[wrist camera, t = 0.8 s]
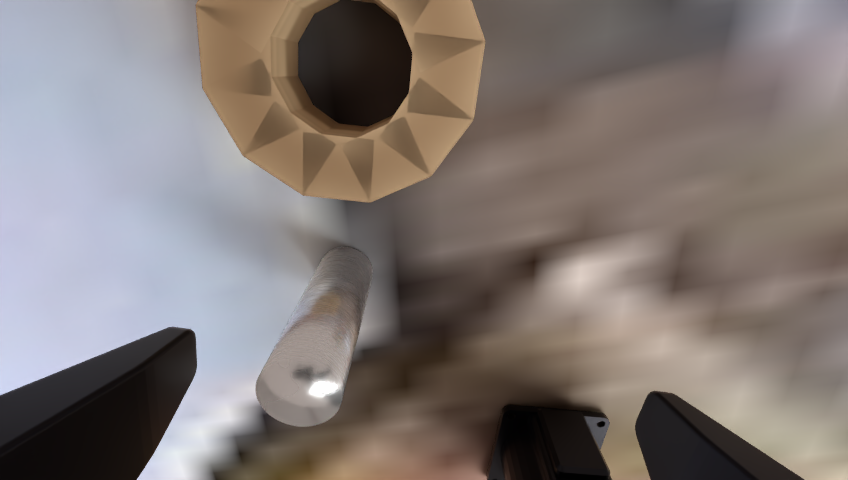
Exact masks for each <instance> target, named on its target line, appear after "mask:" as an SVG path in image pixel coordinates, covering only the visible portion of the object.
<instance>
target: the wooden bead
mask: <svg viewBox="0 0 848 480" xmlns="http://www.w3.org/2000/svg"><path fill="white" fill-rule="evenodd" d="M338 1H340V0H198V1H197V4H196V15H197V27H198V39H199V51H200V63H201V76H202V88H203V90H204V92H205V93H206V95H207V97H208V98H209V100H210V102H211V103H212V105H213V107H214V108H215V110H216V112H217V113H218V115H219V117H220V118H221V120H222V122H223V123H224V125H225V127H226V128H227V130H228V132H229V133H230V135H231V137H232V138H233V140H234V142H235V143H236V145H237V147H238V148H239V150H240V152H241V153H242V155H243V156H244V157H246V158H247V159H249V160H250V161H252V162H253V163H255V164H256V165H258V166H259V167H261V168H262V169H264V170H265V171H267V172H268V173H270V174H271V175H273V176H274V177H276V178H277V179H279V180H280V181H282V182H283V183H285V184H287V185H288V186H290V187H291V188H293V189H294V190H296V191H297V192H299V193H300V194H302V195H303V196H313V197H322V198H332V199H341V200H351V201H360V202H369V203H370V202H372V201H375V200H377V199H379V198H382V197H384V196H386V195H389V194H391V193H393V192H396V191H398V190H400V189H403V188H405V187H407V186H410V185H412V184H414V183H417V182H419V181H421V180H424V179H426V178H428V177H431V175H432V174H433V173H434V172H435V170H436V169H437V168H438V166H439V165H440V164H441V162H442V161H443V160H444V158H445V157H446V156H447V154H448V153H449V152H450V150H451V149H452V148H453V146H454V145H455V144H456V142H457V141H458V140H459V138H460V137H461V136H462V134H463V133H464V132H465V130H466V129H467V128H468V126H469V125H470V124H471V122H472V121H473V120H474V113H475V107H476V100H477V93H478V87H479V80H480V73H481V67H482V60H483V54H484V47H485V39H484V36H483V33H482V30H481V27H480V24H479V21H478V19H477V16H476V13H475V10H474V7H473V4H472V1H471V0H353V1H361V2H368V3H375V4H377V5H378V6H379V7H380V8H381V9H383V10H384V11H385V12H386V13H388V14H389V15H390V16H391V17H393V18H394V19H395V20H396V21H397V22H399V23H400V24H401V26H402V29H403V31H404V33H405V36H406V38H407V41H408V43H409V46H410V48H411V51H412V53H413V55H412V66H411V76H410V87H409V94H408V95H407V97H406V98H405V99H404V101H403V102H402V104H401V105H400V107H399V108H398V110H397V111H396V113H395V114H394V115H392V116H390V117H388V118H386V119H383V120H381V121H379V122H377V123H375V124H373V125H370V126H368V127H366V126H357V125H348V124H339V123H337V122H336V121H334V120H333V119H332V118H330V117H329V116H327V115H326V114H325V113H323V112H322V111H320V110H319V109H318V108H316V107H315V106H314V105H313V104H312V102H311V100H310V98H309V96H308V94H307V92H306V90H305V88H304V86H303V84H302V83H301V81H300V79H299V77H298V42H299V40H300V38H301V36H302V35H303V33H304V31H305V29H306V28H307V26H308V24H309V22H310V20H311V19H312V17H313V15H314V14H315V13H317V12H319V11H321V10H323V9H325V8H327V7H329V6H330V5H332V4H334V3H336V2H338Z"/></svg>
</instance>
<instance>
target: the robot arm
mask: <svg viewBox="0 0 848 480" xmlns="http://www.w3.org/2000/svg"><path fill="white" fill-rule="evenodd" d="M196 368H197V356H196V337H195V333H194V331H192V330H191V329H186V328H178V327H169V328H166V329H163V330H161V331H158V332H156V333H154V334H151V335H149V336H146V337H144V338H141V339H139V340H136V341H134V342H131V343H129V344H126V345H124V346H121V347H119V348H116V349H114V350H111V351H109V352H107V353H104V354H102V355H99V356H97V357H94V358H92V359H89V360H87V361H84V362H82V363H79V364H77V365H74V366H72V367H69V368H67V369H64V370H62V371H59V372H57V373H55V374H52V375H50V376H47V377H45V378H42V379H40V380H37V381H35V382H32V383H30V384H27V385H25V386H22V387H20V388H17V389H15V390H12V391H10V392H8V393H5V394H3V395H0V480H137V478H138V477H139V475H140V474H141V472H142V471H143V469H144V468H145V466H146V465H147V463H148V461H149V460H150V458H151V457H152V455H153V454H154V452H155V450H156V448H157V446H158V445H159V443H160V441H161V439H162V437H163V435H164V433H165V432H166V430H167V428H168V426H169V424H170V422H171V420H172V418H173V416H174V414H175V413H176V411H177V409H178V407H179V405H180V403H181V401H182V399H183V397H184V395H185V393H186V392H187V390H188V388H189V386H190V384H191V382H192V380H193V378H194V376H195V373H196ZM510 413H513V414H511V415H508V414H510ZM599 421H601V422H599ZM609 423H610V422H609V420H608V418H607V416H606V415H605V414H604V413H597V412H586V411H574V410H563V409H551V408H539V407H528V406H516V405H508V406H505V407H504V408H503V409H502V412H501V416H500V420H499V424H498V429H497V433H496V437H495V442H494V446H493V450H492V454H491V459H490V463H489V467H488V471H487V480H612V478H611V476H610V470H609V468H608V466H607V464H606V462H605V460H604V457H603V455H602V453H601V451H600V449H601V446H602V443H603V441H604V438H605V435H606V432H607V430H608V427H609ZM635 430H636V436H637V439H638V442H639V445H640V448H641V451H642V454H643V457H644V460H645V463H646V466H647V470H648V473H649V476H650V479H651V480H804V479H803V478H801V477H800V476H798V475H797V474H795V473H793V472H792V471H790V470H789V469H787V468H786V467H784V466H783V465H781V464H780V463H778V462H777V461H775V460H774V459H772V458H771V457H769V456H768V455H766V454H765V453H763V452H762V451H760V450H759V449H757V448H756V447H754V446H752V445H751V444H749V443H748V442H746V441H745V440H743V439H742V438H740V437H739V436H737V435H736V434H734V433H733V432H731V431H730V430H728V429H727V428H725V427H724V426H722V425H721V424H719V423H718V422H716V421H715V420H713V419H711V418H710V417H708V416H707V415H705V414H704V413H702V412H701V411H699V410H698V409H696V408H695V407H693V406H692V405H690V404H689V403H687V402H686V401H684V400H683V399H681V398H680V397H678V396H677V395H675V394H672V393H667V392H660V391H652V392H650V393H649V394H648V396H647V398H646V400H645V402H644V404H643V407H642V409H641V411H640V413H639V416H638V418H637V420H636V425H635Z"/></svg>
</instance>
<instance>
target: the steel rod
mask: <svg viewBox="0 0 848 480" xmlns="http://www.w3.org/2000/svg"><path fill="white" fill-rule="evenodd" d="M372 277H373V268H372V264H371V262H370V260H369V259H368V257H367V256H366V255H365V254H364V253H362V252H361V251H359V250H357V249H355V248H351V247H338V248H335V249H332V250H330V251H329V252H328V253H326V254H325V256H324V257H323V258H322V260H321V262H320V264H319V266H318V268H317V269H316V271H315V273H314V275H313V277H312V279H311V281H310V282H309V284H308V286H307V288H306V290H305V292H304V294H303V295H302V297H301V299H300V301H299V303H298V305H297V306H296V308H295V310H294V312H293V314H292V316H291V318H290V319H289V321H288V323H287V325H286V327H285V329H284V331H283V332H282V334H281V336H280V338H279V340H278V342H277V344H276V345H275V347H274V349H273V351H272V353H271V355H270V357H269V358H268V360H267V362H266V364H265V366H264V368H263V370H262V371H261V373H260V375H259V377H258V379H257V382H256V396H257V399H258V401H259V403H260V405H261V406H262V408H263V409H264V410H265V411H266V412H267V413H268V414H269V415H270V416H272V417H273V418H275V419H276V420H278V421H280V422H283V423H285V424H288V425H293V426H300V427H307V426H315V425H318V424H321V423H324V422H326V421H327V420H329V419H330V418H332V417H333V416H334V415H335V414H336V413H337V411H338V410H339V408H340V406H341V402H342V399H343V394H344V390H345V386H346V382H347V378H348V374H349V370H350V366H351V362H352V358H353V354H354V350H355V346H356V342H357V338H358V334H359V330H360V326H361V322H362V318H363V313H364V309H365V305H366V301H367V297H368V293H369V289H370V285H371V281H372Z"/></svg>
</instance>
